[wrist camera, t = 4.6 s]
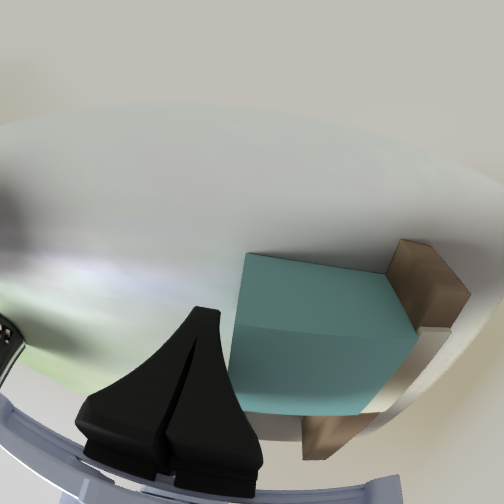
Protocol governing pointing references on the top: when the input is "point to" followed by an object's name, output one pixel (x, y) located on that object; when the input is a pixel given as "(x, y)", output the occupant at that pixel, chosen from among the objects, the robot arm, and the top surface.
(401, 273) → the walnut board
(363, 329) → the teal block
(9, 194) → the top surface
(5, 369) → the battery charger
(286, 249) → the top surface
